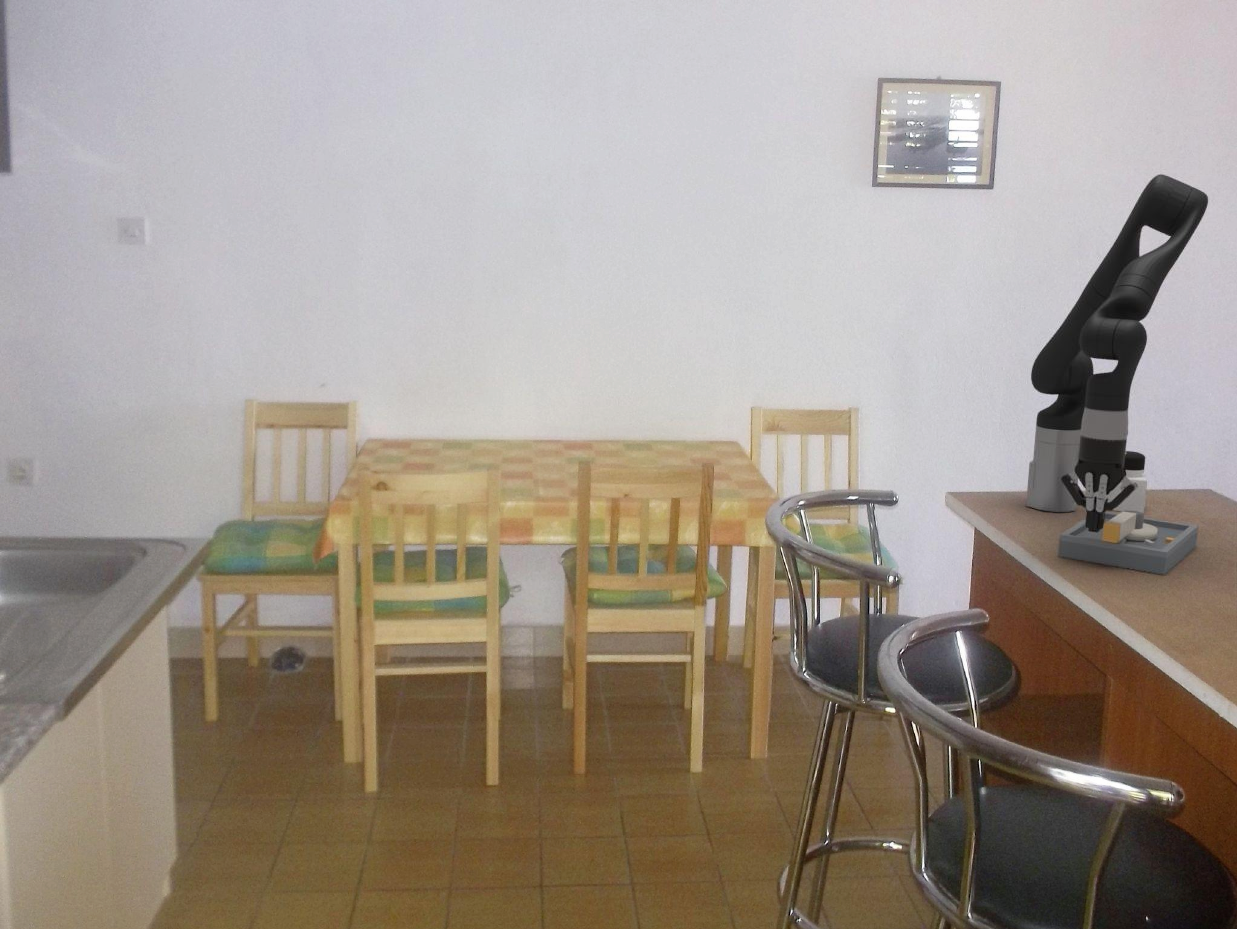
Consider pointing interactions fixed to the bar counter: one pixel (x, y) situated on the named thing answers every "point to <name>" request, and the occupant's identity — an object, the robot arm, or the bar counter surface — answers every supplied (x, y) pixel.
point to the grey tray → (1131, 546)
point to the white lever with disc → (1128, 528)
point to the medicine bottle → (1135, 474)
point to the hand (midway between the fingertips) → (1094, 531)
